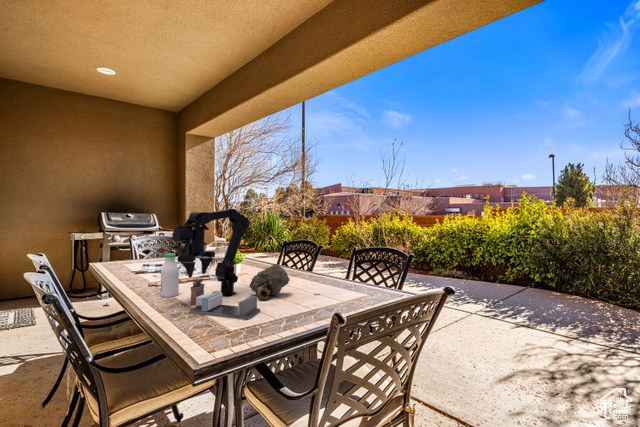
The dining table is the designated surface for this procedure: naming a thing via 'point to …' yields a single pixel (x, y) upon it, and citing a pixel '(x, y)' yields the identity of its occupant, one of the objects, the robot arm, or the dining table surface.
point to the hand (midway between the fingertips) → (196, 275)
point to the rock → (269, 281)
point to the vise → (232, 309)
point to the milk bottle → (169, 277)
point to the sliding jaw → (209, 301)
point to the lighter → (196, 290)
